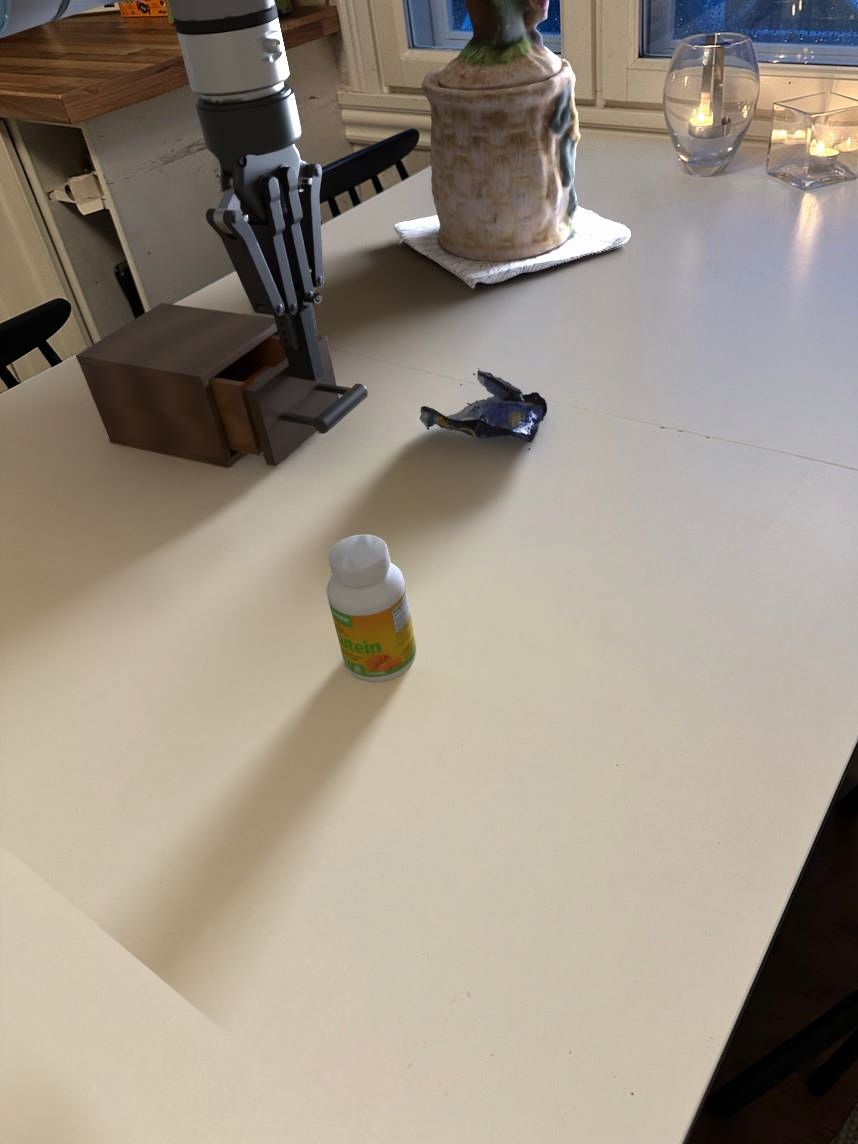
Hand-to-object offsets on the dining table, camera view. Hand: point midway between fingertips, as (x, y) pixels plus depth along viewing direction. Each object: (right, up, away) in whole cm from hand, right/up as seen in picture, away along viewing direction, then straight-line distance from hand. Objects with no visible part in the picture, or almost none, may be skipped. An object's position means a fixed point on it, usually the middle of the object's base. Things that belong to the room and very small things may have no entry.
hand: (308, 375), depth 89 cm
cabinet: (-12, -2, +11) cm, 17 cm away
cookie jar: (+20, +29, +42) cm, 55 cm away
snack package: (+17, -4, +5) cm, 18 cm away
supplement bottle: (+9, -26, -18) cm, 33 cm away
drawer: (-5, -4, +7) cm, 9 cm away
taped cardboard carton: (-6, -2, +7) cm, 9 cm away
